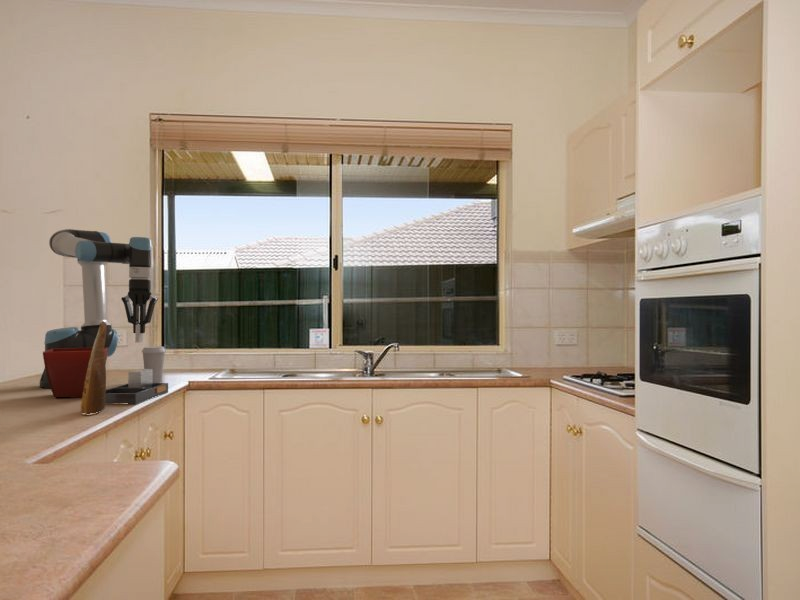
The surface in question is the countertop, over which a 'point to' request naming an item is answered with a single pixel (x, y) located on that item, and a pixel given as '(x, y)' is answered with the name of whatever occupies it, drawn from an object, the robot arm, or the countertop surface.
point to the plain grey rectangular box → (140, 378)
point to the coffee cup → (154, 361)
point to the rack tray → (134, 393)
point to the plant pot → (67, 370)
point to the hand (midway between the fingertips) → (138, 342)
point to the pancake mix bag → (95, 376)
